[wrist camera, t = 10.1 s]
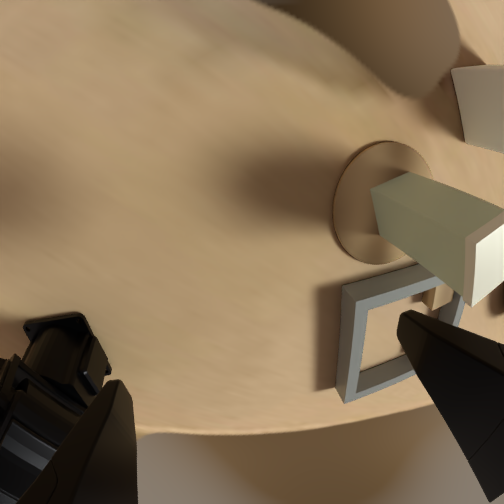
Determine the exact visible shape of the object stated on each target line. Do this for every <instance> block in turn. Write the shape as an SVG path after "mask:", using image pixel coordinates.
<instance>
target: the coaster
mask: <svg viewBox="0 0 504 504" xmlns="http://www.w3.org/2000/svg"><path fill="white" fill-rule="evenodd" d="M408 172H412V173H415V174H417V175H420V176H423V177H426V178H429V179H432V180H433V176H432V173H431V170H430V168H429V166H428V164H427V163H426V161H425V159H424V158H423V157H422V156H421V155H420V154H419V153H418V152H417V151H416V150H414V149H413V148H411V147H410V146H407V145H405V144H401V143H396V142H383V143H378V144H375V145H372V146H370V147H368V148H366V149H365V150H363V151H362V152H360V153H359V154H358V155H357V156H356V157H355V158H354V159H353V160H352V161H351V162H350V164H349V165H348V166H347V168H346V169H345V171H344V172H343V174H342V176H341V178H340V180H339V183H338V185H337V188H336V192H335V196H334V202H333V223H334V228H335V231H336V234H337V237H338V239H339V241H340V243H341V244H342V246H343V247H344V248H345V250H346V251H347V252H348V253H349V254H350V255H352V256H353V257H354V258H356V259H357V260H359V261H361V262H364V263H367V264H374V265H379V264H386V263H390V262H392V261H395V260H397V259H399V258H401V257H402V256H404V255H405V253H404V252H403V251H401V250H400V249H398V248H397V247H396V246H394V245H393V244H391V243H390V242H388V241H387V240H386V239H384V238H383V237H381V236H380V235H379V230H378V225H377V220H376V215H375V210H374V205H373V201H372V196H371V192H370V189H371V188H374V187H376V186H378V185H380V184H383V183H385V182H387V181H389V180H392V179H394V178H396V177H399V176H401V175H403V174H405V173H408Z"/></svg>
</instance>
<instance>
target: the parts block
mask: <svg viewBox="0 0 504 504" xmlns="http://www.w3.org/2000/svg"><path fill="white" fill-rule="evenodd" d="M453 294H454V290H453V289H452V288H451V287H449V286H448V285H447V284H442V285H439V286H437V287H434V288H431V289H429V290H426V291H423V298H422V302H423V303H424V304H425V305H426V306H427V307H429V308H430V309H431V310H432V311H433V310H435V309H437V308H439V307H441V306H443V305H445V304H447V303H449V302H451V301H452V299H453Z"/></svg>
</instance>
